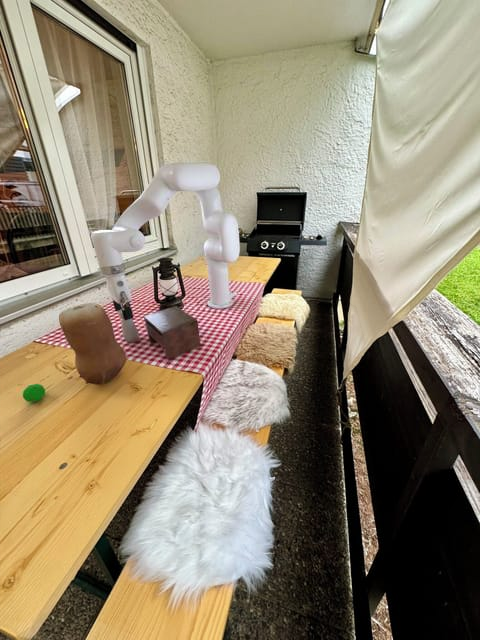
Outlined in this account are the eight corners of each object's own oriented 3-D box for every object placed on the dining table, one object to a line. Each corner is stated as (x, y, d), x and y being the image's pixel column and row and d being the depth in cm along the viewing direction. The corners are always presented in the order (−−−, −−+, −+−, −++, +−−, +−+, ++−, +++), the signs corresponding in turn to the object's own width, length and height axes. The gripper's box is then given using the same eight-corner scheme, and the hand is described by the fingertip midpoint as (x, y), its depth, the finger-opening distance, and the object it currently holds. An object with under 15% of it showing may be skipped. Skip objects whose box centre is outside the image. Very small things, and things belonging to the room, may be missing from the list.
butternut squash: (98, 363, 88) (73, 296, 76) (136, 363, 87) (117, 295, 75) (73, 393, 75) (39, 318, 63) (118, 393, 75) (92, 318, 63)
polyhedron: (24, 408, 71) (17, 395, 69) (29, 396, 75) (22, 383, 73) (46, 402, 73) (39, 389, 71) (49, 390, 77) (43, 378, 74)
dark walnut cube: (179, 329, 106) (175, 305, 101) (200, 345, 95) (197, 319, 90) (149, 341, 99) (143, 316, 94) (168, 360, 88) (163, 333, 83)
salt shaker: (134, 344, 98) (126, 313, 91) (121, 343, 99) (112, 312, 92) (142, 336, 103) (135, 306, 96) (129, 335, 104) (121, 305, 97)
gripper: (133, 272, 83) (143, 319, 91) (116, 262, 95) (126, 304, 103) (108, 277, 79) (121, 326, 87) (94, 266, 91) (106, 309, 99)
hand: (124, 314), depth 95 cm, fingers open, 9 cm apart
